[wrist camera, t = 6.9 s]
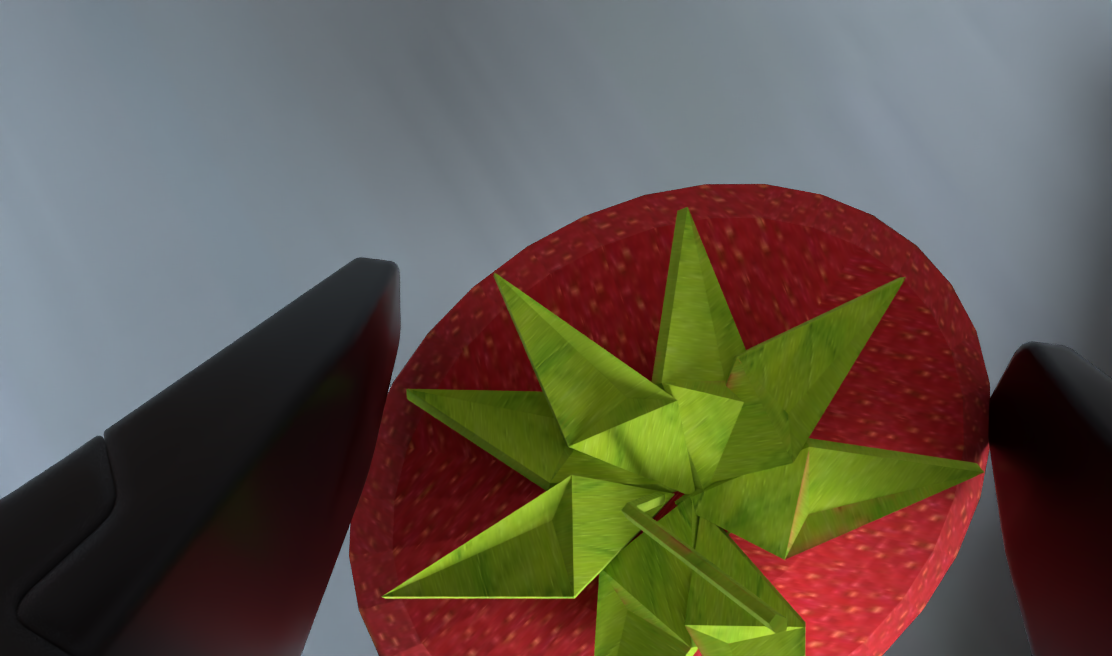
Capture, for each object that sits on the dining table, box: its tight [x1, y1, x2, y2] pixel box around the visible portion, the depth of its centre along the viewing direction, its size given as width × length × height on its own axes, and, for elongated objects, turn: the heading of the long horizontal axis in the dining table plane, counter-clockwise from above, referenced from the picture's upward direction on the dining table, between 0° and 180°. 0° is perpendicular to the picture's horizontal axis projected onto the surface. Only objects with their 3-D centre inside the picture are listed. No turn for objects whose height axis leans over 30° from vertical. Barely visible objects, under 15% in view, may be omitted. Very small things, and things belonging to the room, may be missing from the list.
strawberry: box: [349, 184, 990, 656], centre depth 11 cm, size 6×8×10 cm
